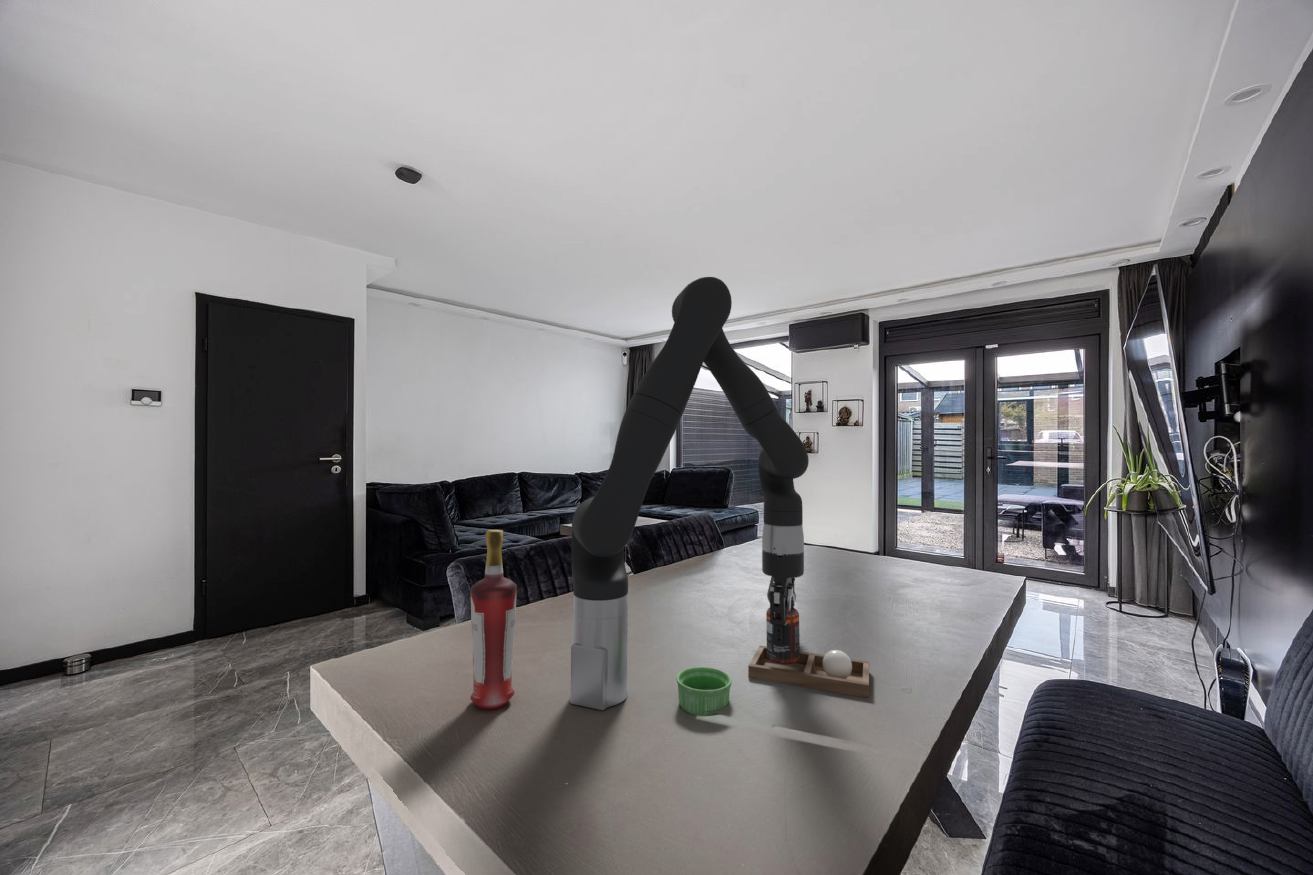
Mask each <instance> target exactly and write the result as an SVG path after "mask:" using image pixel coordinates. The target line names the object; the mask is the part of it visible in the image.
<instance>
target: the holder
mask: <svg viewBox="0 0 1313 875" xmlns="http://www.w3.org/2000/svg"><path fill="white" fill-rule="evenodd" d="M824 656H825V654H821V653H820V654H819V653H813V652H808V651H802V650H801V651H800V658H799V660H798V661H797V662H796V663H792V664H780V663H776V662H773V661H771V660H770V659H768V657H767V645H766V646H764V645H759V646H758V648H757V650H756V651H755V653H754V655H753V657H752V659H751V661H750V662H749V663H748V667H747V668H748V669H747V671H748V672H747V674H748V678H750V679H751V678H752V679H756V680H763V681H769V682H774V683H780V684H781V683H782V684H787V685H791V686H797V687H804V688H810V689H816V690H820V691H821V690H822V691H827V692H832V693H838V694H843V695H844V694H845V695H849V696H850V695H851V696H857V697H863V698H867V699H868V698H870V661H868V660H860V659H855V658H850V660H851V662H852V672H851V674H850V675H849V677H848V678H846V679H842V678H836V677H830V676H828V675H827V674H826V673H825V671H824V669H823V664H822V663H823V658H824Z"/></svg>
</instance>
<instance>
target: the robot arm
mask: <svg viewBox="0 0 1313 875" xmlns="http://www.w3.org/2000/svg"><path fill="white" fill-rule="evenodd" d="M732 304H733V302H732V295H731V292H730V289H729V287H728V286H727V285H726V283H725V282H724V281H723V280H722V279H720V278H718V277H715V276H711V275H710V276H702V277H698V278H696V279H694V280H692V281H691V282H689V283H688V284H687V285H686V286H685V287H684V288H683V289H682V290H681V291H680V292H679V294H678V295H677V296H676V297H675V299H674V301H673V303H672V306H671V317H672V320H673V322H674V323H673V326H672V329H671V330H670V333H669V336H668V337H667V339H666V342H665V343H664V345H663V346H662V348H661V349H660V351H659V352H658V354H657V356H656V357H655V358H654V360H653V362H651V364H650V365H649V367H648V369H647V370H646V371H645V373H644V375H643V377H642V378H641V380H640V382H639V383H638V385H637V387H636V388H635V391H634V393H633V394H632V396H631V399H630V401H629V403H628V405H627V407H626V410H625V412H624V413H623V417H622V419H621V422H620V426H619V429H618V433H617V438H616V442H615V447H614V451H613V456H612V459H611V462H610V465H609V468H608V471H606V474H605V476H604V479H603V481H602V482H601V484H600V486H599V487H598V490H597V491H596V493H595V495H594V496H592V497H590V498H587V499H586V500H584V501H582V502H581V503H580V504H579V505H578V506H577V508H576V509H575V511H574V513H573V516H572V521H571V575H572V582H573V583H572V584H573V588H572V589H573V592H572V594H573V595H572V596H573V606H572V607H573V609H572V612H573V614H572V616H573V617H572V644H571V646H570V696H569V698H570V700H569V702H570V704H572V705H577V706H581V707H584V708H585V707H586V708H589V709H596V710H600V711H605V710H606V709H607V708H611V707H612V706H613V707H614V706H617V705H619V704H621V703H623V701H625V700H626V699H627V697H628V659H629V658H628V652H629V651H628V649H629V647H628V645H629V643H628V642H629V640H628V639H629V635H628V634H629V632H628V631H629V630H628V629H629V624H628V623H629V577H628V572H627V570H626V563H625V562H626V561H625V547H626V546H627V544H629V542H630V540H631V538H632V536H633V533H634V531H635V530H634V529H635V527H636V525H637V524H636V523H637V520H638V517H639V515H640V511H641V508H642V506H643V504H644V503H643V502H644V499H645V497H646V493H647V491H648V488H649V486H650V484H651V481H652V480H653V478H654V476H655V473H656V471H657V470H658V468H659V466H660V464H661V462H662V460H663V457H664V456H665V453H666V451H667V449H668V447H669V444H670V443H671V440H672V439H673V437H674V435H675V432H676V430H677V428H678V426H679V423H680V421H681V419H682V417H683V415H684V412H685V410H686V407H687V404H688V402H689V400H690V398H691V395H692V393H693V390H694V387H695V385H696V382H697V379H698V377H699V374H700V372H701V368H702V366H703V363H704V364H705V366H706V367H707V369H708V370H709V371H710V373H711V375H712V376H713V378H714V379H715V381H716V382H717V384H718V386H719V387H720V388H721V390H722V392H723V393H724V395H725V398H727V400H728V402H729V404H730V405H731V407H732V409H733V411H734V413H735V415H736V417H737V418H738V421H739V423H741V426H742V427H743V430H744V431H745V432H746V434H747V435H748V436H750V438H751V437H752V438H754V439H755V440H756V441H757V442H758V443H759V445H760V446H761V449H760V452H759V455H758V461H757V462H758V464H757V465H758V466H757V468H758V477H759V482H760V486H761V492H762V496H763V525H762V526H763V527H762V536H761V537H762V538H761V541H762V542H761V550H762V551H761V561H762V562H761V563H762V564H761V571H762V573H763V574H764V575H765V576H768V577H769V576H770V577H771V576H772V577H773V578H774V582H773V585H771V587H770V593H769V596H770V602H769V608H770V624H773V644H774V645H775V646H779V647H785V646H786V640H787V614H788V613H790V611H791V598H792V597H793V603H794V605H793V607H794V608H795V606H796V605H795V604H796V603H795V602H796V600H795V597H794V592H795V593H796V584H795V581H796V578H800V577H802V576H803V575H804V574H805V538H804V536H805V535H804V526H803V517H804V516H803V510H804V509H803V499H802V497H801V495H800V494H799V493H798V492H797V491H796V490H795V483H794V480H795V479H798V478H800V477H802V476H803V475H804V474H805V473H806V471H807V469H808V467H809V461H810V460H809V453H808V451H807V448H806V447H805V444H804V443H803V441H802V439H801V438H800V437H799V435H798V434H797V432H795V430H794V429H793V428H792V427H791V426H790V424H789V423H788V421H786V420H785V419H784V417H783V416H782V415H781V414H780V411H779V410H778V408H777V405H776V404H775V402H774V400H773V398H772V396H771V395H770V393H769V391H768V389H767V387H766V386H765V384H764V383H763V381H762V379H760V377H759V376H758V375H757V374H756V373H755V372H754V371H753V370H752V369H751V367H750V366H749V365H747V363H746V362H745V361H744V360H743V359H742V358H741V357H740V356H739V355H738V354H737V352H736V351H735V349H734V348H733V347H732V345H731V344H730V341H729V340H728V338H727V336H726V334H725V331H724V329H723V327H724V326H725V324H726V323H727V320H728V319H729V317H730V315H731V310H732ZM794 601H795V602H794ZM785 605H787V606H786V607H785ZM776 613H781V615H782V618H777V617H776Z"/></svg>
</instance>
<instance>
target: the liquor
mask: <svg viewBox="0 0 1313 875" xmlns="http://www.w3.org/2000/svg"><path fill="white" fill-rule="evenodd" d="M503 542H504V530H503V529H490V530H489V529H488V530H485V543H486V549H487V552H486V559H485V561H486V562H485V569H484V578H482V579H480V580H478V581H476V583H474V584H473V585H472V586H471V587H470V593H469V594H470V621H471V622H470V623H471V625H470V626H471V636H472V637H471V638H472V639H471V640H472V667H473V668H472V669H473V670H472V672H473V676H472V678H473V683H472V684H473V685H472V686H473V691H472V692H471V695H470V701H471V702H473V704H474V705H476V706H477V707H478V708H480V709H481V710H489V711H490V710H496V709H499V708H502V707H503V706H505V705H506V704H507V703H508V702H509V701H510V700H511V699H512V698H513V696H514V695H515V690H514V688H513V687H512V686H513V685H512V681H513V660H514V657H513V656H514V655H513V654H514V641H515V640H514V639H515V638H514V636H515V625H516V612H517V610H516V608H517V589H518V584H516V582H514V581H513V580H512V579H510V578H508V577H504V568H503V566H504V565H503V557H502V554H503V553H502V548H503Z"/></svg>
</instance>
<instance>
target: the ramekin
mask: <svg viewBox="0 0 1313 875" xmlns="http://www.w3.org/2000/svg"><path fill="white" fill-rule="evenodd" d="M732 681H733V680H732V678H731V676H730V674H728V673H727V672H726V671H723V670H721V669H718V668H714V667H709V666H708V667H707V666H696V667H695V666H694V667H690V668H686V669H684V670H681V671H680V672H679V673H677V675H676V684H677V688H678V689H677V693H678V702H679V705H680V707H681V709H682V710H683V711H685V712H687V713H689V714H691V715H693V716H699V717H700V716H701V717H713V716H717V715H719V713H716V712H711V711H716V710H719V709H723V708H724V707H725V706H727V705H728V703H729V701H730V691H731V686H732Z"/></svg>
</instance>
